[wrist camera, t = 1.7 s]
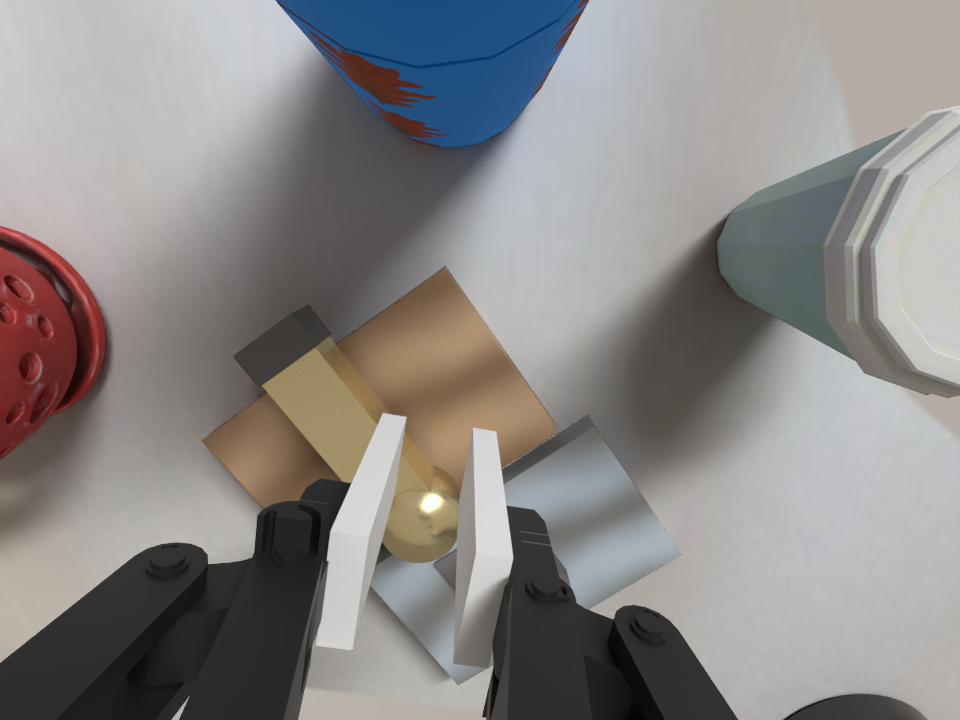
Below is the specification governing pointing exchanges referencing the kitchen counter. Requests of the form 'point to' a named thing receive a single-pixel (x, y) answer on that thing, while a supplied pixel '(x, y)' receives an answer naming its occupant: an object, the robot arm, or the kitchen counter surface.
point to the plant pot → (43, 337)
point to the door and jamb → (463, 458)
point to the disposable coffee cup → (864, 254)
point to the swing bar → (351, 429)
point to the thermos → (441, 58)
